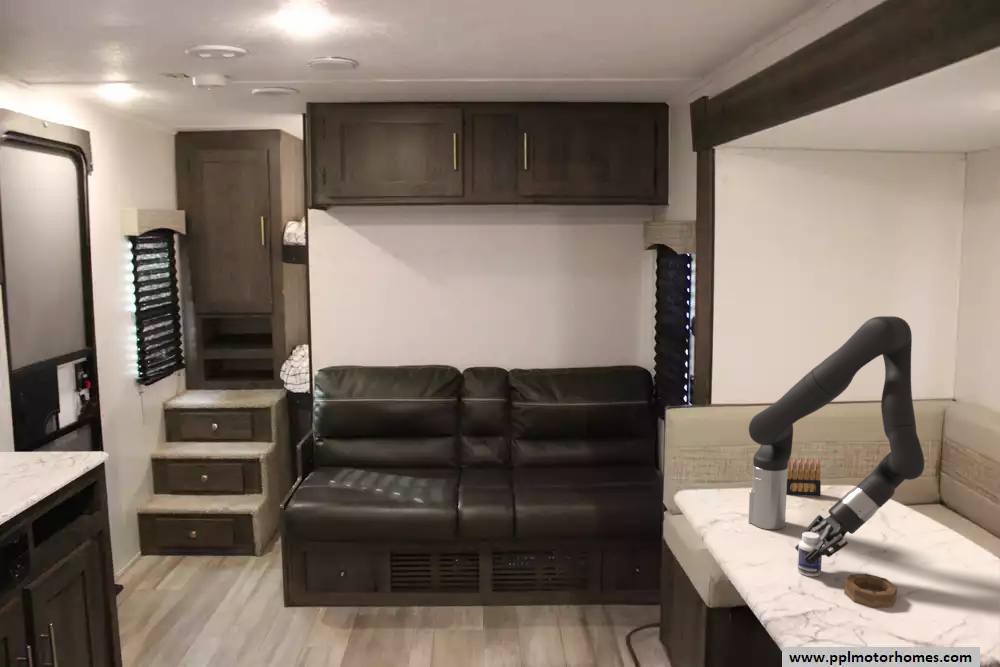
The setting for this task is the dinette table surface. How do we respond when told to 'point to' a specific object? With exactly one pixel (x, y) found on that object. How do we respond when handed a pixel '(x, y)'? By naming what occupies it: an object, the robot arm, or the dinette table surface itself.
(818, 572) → the pill bottle
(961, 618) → the dinette table surface
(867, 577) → the walnut ring
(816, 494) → the ammunition clip
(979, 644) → the dinette table surface
